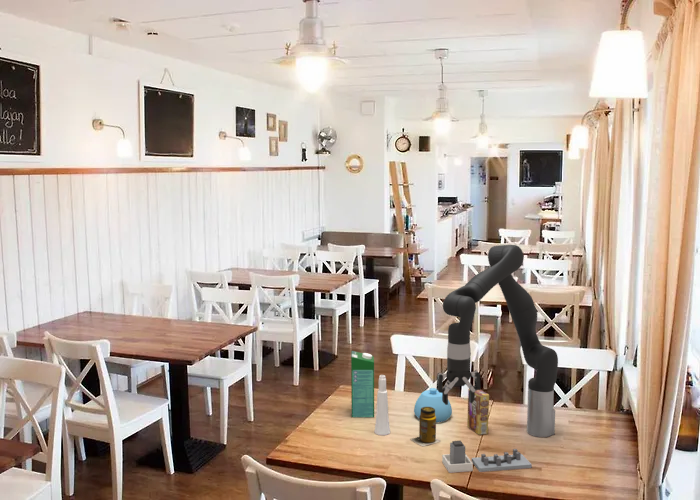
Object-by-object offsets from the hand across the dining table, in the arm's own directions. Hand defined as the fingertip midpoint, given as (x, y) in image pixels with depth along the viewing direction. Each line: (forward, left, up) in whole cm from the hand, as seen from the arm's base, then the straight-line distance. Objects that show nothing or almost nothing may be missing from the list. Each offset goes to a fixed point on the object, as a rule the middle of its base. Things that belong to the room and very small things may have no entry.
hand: (458, 403), depth 220 cm
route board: (-15, +1, -22) cm, 27 cm away
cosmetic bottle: (+19, -32, -22) cm, 43 cm away
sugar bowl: (-4, -44, -22) cm, 50 cm away
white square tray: (0, 0, -22) cm, 22 cm away
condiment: (+5, -22, -22) cm, 32 cm away
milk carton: (+23, -52, -22) cm, 61 cm away
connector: (0, 0, -21) cm, 21 cm away
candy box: (-17, -28, -22) cm, 40 cm away
